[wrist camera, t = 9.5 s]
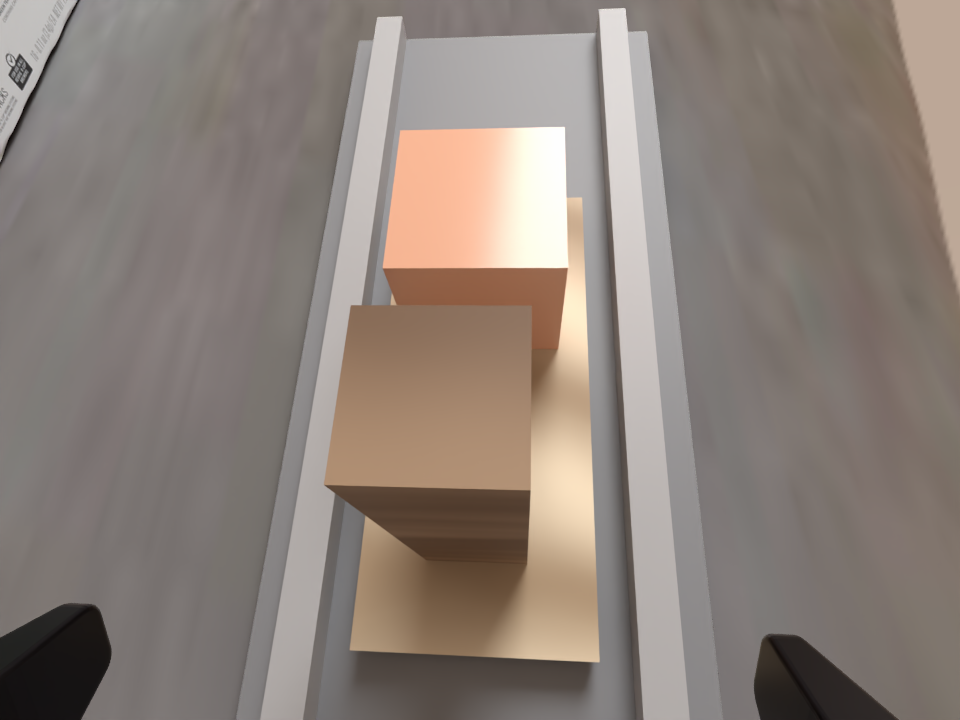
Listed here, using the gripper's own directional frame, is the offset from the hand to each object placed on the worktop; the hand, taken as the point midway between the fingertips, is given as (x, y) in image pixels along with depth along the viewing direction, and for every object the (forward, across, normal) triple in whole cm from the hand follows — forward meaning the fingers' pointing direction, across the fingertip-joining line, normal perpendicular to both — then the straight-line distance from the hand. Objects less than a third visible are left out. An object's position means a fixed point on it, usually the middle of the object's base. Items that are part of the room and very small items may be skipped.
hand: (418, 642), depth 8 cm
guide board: (+17, 0, 0) cm, 17 cm away
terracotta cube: (+15, 0, -1) cm, 15 cm away
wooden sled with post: (+13, 0, +2) cm, 13 cm away
